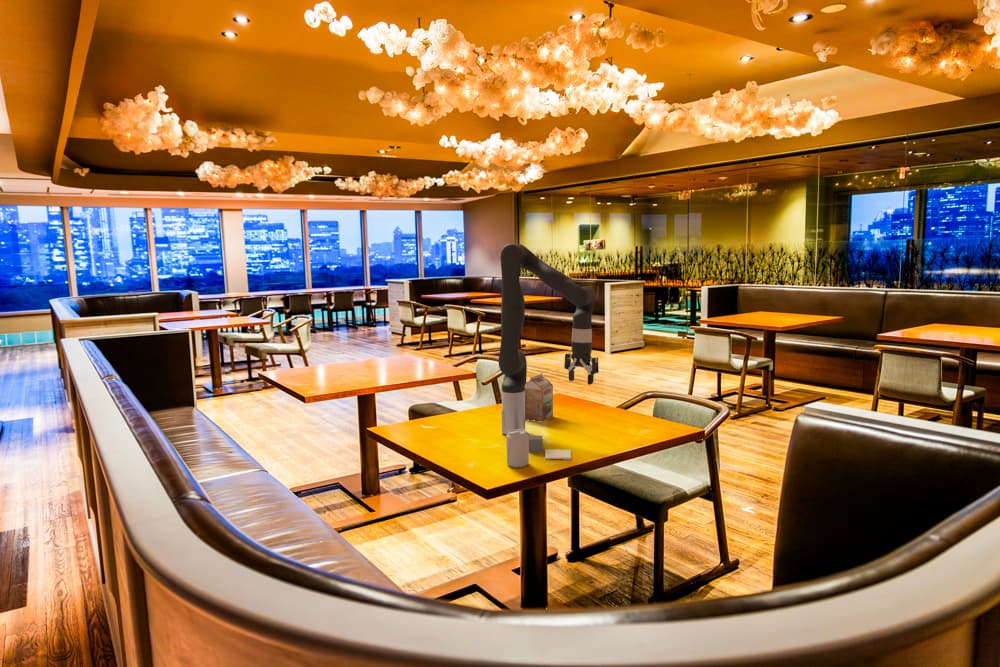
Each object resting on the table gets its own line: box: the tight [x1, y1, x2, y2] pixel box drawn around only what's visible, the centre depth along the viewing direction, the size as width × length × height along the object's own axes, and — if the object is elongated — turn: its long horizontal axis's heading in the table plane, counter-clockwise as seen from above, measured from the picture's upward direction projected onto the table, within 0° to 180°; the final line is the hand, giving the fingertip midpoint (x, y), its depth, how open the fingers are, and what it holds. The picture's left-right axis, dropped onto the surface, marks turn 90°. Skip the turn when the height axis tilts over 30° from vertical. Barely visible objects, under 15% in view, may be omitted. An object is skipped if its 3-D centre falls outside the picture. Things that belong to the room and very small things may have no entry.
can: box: [505, 429, 530, 469], centre depth 220 cm, size 8×8×12 cm
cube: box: [528, 434, 544, 454], centre depth 236 cm, size 5×5×5 cm
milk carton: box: [525, 372, 554, 423], centre depth 281 cm, size 11×11×19 cm
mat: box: [544, 449, 572, 461], centre depth 230 cm, size 9×9×1 cm
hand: (580, 382), depth 244 cm, fingers open, 8 cm apart
